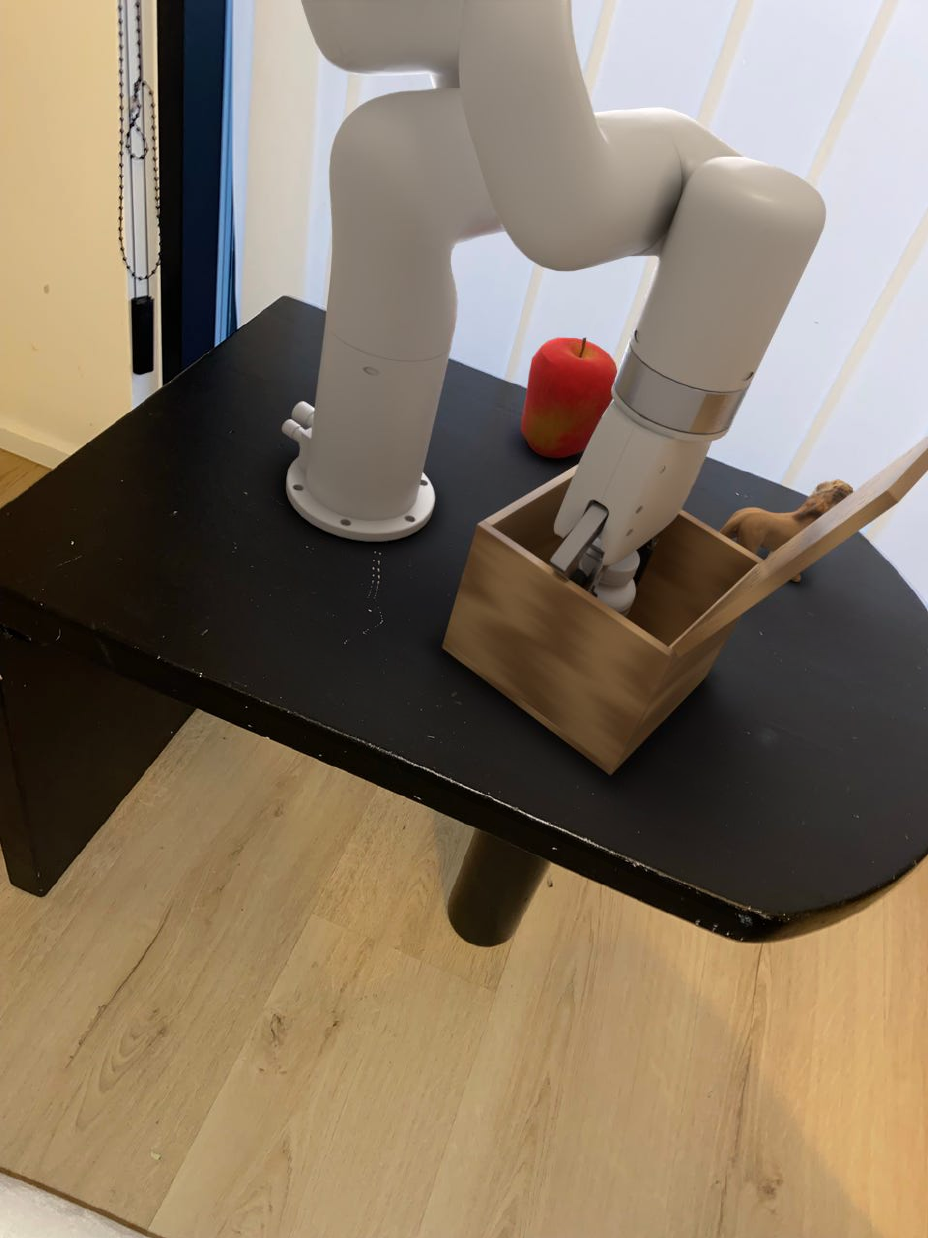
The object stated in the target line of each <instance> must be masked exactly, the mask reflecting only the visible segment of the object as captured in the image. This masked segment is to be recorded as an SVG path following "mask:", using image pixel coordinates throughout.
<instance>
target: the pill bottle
mask: <svg viewBox="0 0 928 1238" xmlns="http://www.w3.org/2000/svg"><path fill="white" fill-rule="evenodd" d="M593 545H595V546H596V547H598V548H599V549H601V539H599V538H596V540H595V541H594V542H593ZM596 562H597V561H596V560H594V559H593V558H591V557H590V556H588V555H587V554H584V555H583V557H582V558H581V560H580V562H579V566H580V567H579V569H581V570H582V571H584V573H585V574H586V576H587V577H588V576H589V574H590V572H591V571H592V569H593V567H594V566H595V564H596ZM639 562H640V558H639V555H638V553H637V551H634V552H633V553H631V554H630V555H629V556H627V557H626V558H625V559H623V560H622V561H620V562H619V563H617V564H613V565H609V567H608V568H607V570H606V572H605V573H604V575H603V577H602V578H601V580H600V581H599V583H598V585H597V586H596V588H595V590H594V592H595V593H596V594H598V596H597V599H599V600H600V601H602V602H603V603H605V604H606V605H608V606H609V607H611V608H612V609H614V610H615V611H616V612H618V613H619V614H621V615H622V616H624V617H625V618H626V616H627V614H628V612H629V610H630V608H631V606H632V603H633V601H634V598H635V594H636V587H635V583H634V580H633V577H634V575H635V573H636V570H637V568H638V566H639Z"/></svg>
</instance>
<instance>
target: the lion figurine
mask: <svg viewBox="0 0 928 1238" xmlns="http://www.w3.org/2000/svg"><path fill="white" fill-rule="evenodd" d="M854 491H855V490H854V487H852V486H851V484H849V483H848V482H845V481H843V480H841V479H839V478H836V479H834V480H833V479H832V480H831V481H827V480H826V481H823V482H820V483H818V484H817V486H816V487H815V488H814V489H813V491H812V492H811V494H810V495H809V496H808V497H807V498H806V500H805V501H804V503H802V504H801V505H800V507H799V508H797V510H795V511H790V512H771V511H768V510H765V509H763V508H759V507H752V506H751V507H744V508H741V509H739V510H737V511H735V512H734V513H733V514H732V515H731V516H730V517H729V519H728V520H727V522H726V523H725V524H724V525H723V526H722V527H721V529H720V530H719V531H718V532H719V533H721V534H722V535H724V536H726V537H727V538H729V539H730V540H732V541H733V540H734V539H736V543H737V544H739V545H740V546H742V547H743V548H745V549H747V550H748V551H750V552H751V553H753V554H755V555H756V554H757V553H758V551H759V549H760V548H762V549H764V550H766V551H769V553H768V555H767V557H768V556H769V555H771V554H772V553H773V552H775V551H776V550H777V549H779V548H780V547H781V546H782V545H784V544H785V543H786V542H788V541H789V540H790V539H792V538H793V537H794V536H796V535H797V534H798V533H800V532H801V531H802V530H804V529H805V528H806V527H808V526H809V525H810V524H812V523H813V522H814V521H816V520H817V519H818V518H820V517H821V516H822V515H824V514H825V513H826V512H827V511H829V510H830V509H831V508H833V507H834V506H835V505H837V504H838V503H839V502H841V501H842V500H843V499H845V498H846V497H847V496H849V495H850V494H851V493H853V492H854ZM801 578H802V577H801V573H799V574H797V575H796V576H794V577H793V578H792V579H790V581H793V582H794V583H798V582H800V581H801Z"/></svg>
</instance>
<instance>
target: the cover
mask: <svg viewBox="0 0 928 1238" xmlns="http://www.w3.org/2000/svg"><path fill="white" fill-rule="evenodd" d="M927 472H928V435H926V436H925V437H924V438H923V439H922V440H920V441H919V442H917V443H916V444H915V445H914V446H912V447H911V448H909V449H908V450H907V451H906V452H904V453H903V454H901V455H900V456H899V457H898V458H896V459H895V460H894V461H892V462H891V463H890V464H888V465H887V466H885V467H884V468H883V469H882V470H880V471H879V472H877V473H876V474H875V475H874V476H873V477H871V478H870V479H869V480H867V481H866V482H865V483H863V484H862V485H860V486H859V487H858V488H857V489H855V490H853V491H854V492H853V493H851V494H850V495H849V496H847V497H846V498H845V499H843V500H842V501H841V502H839V503H838V504H837V505H835V506H834V507H833V508H831V509H830V510H829V511H827V512H826V513H825V514H824V515H822V516H821V517H820V518H818V519H817V520H816V521H814V522H813V523H812V524H810V525H809V526H808V527H806V528H805V529H804V530H802V531H801V532H800V533H798V534H797V535H796V536H794V537H793V538H792V539H790V540H789V541H788V542H786V543H785V544H784V545H782V546H781V547H780V548H779V549H777V550H776V551H775V552H773V553H772V554H771V555H769V554H768V555H769V556H768V555H767V557H766V558H765V559H763V560H764V561H763V562H762V563H761V564H760V565H759V566H758V567H757V568H756V569H755V570H753V571H752V572H751V573H750V574H749V575H748V576H747V577H746V578H745V579H744V580H743V581H742V582H741V583H740V584H739V585H738V586H736V587H735V588H734V589H733V590H732V591H731V592H730V593H729V594H728V595H727V596H726V597H725V598H724V599H723V600H722V601H720V602H719V603H718V604H717V605H716V606H715V607H714V608H713V609H712V610H711V611H710V612H709V613H708V614H707V615H706V616H705V617H703V618H702V619H701V620H700V621H699V622H698V623H697V624H696V625H695V626H694V627H693V628H692V629H691V630H690V631H689V632H687V633H686V634H685V635H684V636H683V637H682V638H681V639H680V640H679V641H678V642H677V643H676V644H675V645H674V646H673V647H672V649H673V650H674V651H675V653H676V654H677V655H678V656H679V657H682V656H683V655H685V654H686V653H688V652H689V651H690V650H692V649H693V648H695V647H696V646H697V645H699V644H700V643H702V642H703V641H705V640H706V639H707V638H709V637H710V636H712V635H713V634H714V633H716V632H717V631H719V630H720V629H721V628H723V627H724V626H726V625H727V624H728V623H730V622H731V621H733V620H734V619H735V618H737V617H738V616H740V615H741V614H742V615H743V614H744V613H746V612H747V611H748V610H750V609H751V608H753V606H755V605H757V604H758V603H760V602H761V601H762V600H764V599H765V598H766V597H768V596H769V595H771V594H772V593H774V592H775V591H776V590H778V589H780V587H783V585H785V584H786V583H787V582H789V581H791V579H792V578H793V577H794V576H796V575H797V574H801V573H802V572H803V571H805V570H807V568H809V567H810V566H811V565H813V564H814V563H815V562H817V561H818V560H820V559H821V558H822V557H824V556H825V555H827V554H828V553H830V552H832V551H833V550H834V549H835V548H837V547H838V546H840V545H841V544H842V543H844V542H845V541H847V540H848V539H850V538H851V537H852V536H854V535H855V534H856V533H858V532H860V531H861V530H862V529H863V528H865V527H866V526H867V525H869V524H870V523H872V522H873V521H875V520H876V519H877V518H879V517H880V516H882V515H883V514H885V513H886V512H887V511H889V510H890V509H891V508H893V507H894V506H895V505H897V504H899V503H900V501H902V499H903V498H904V497H905V496H906V495H907V494H908V493H909V492H910V491H911V489H912V488H913V487H914V486H915V485H916V484H917V483H918V482H920V479H921V478H923V476H924V475H925V474H926V473H927ZM742 615H741V616H742Z"/></svg>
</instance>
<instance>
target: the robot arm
mask: <svg viewBox="0 0 928 1238" xmlns="http://www.w3.org/2000/svg"><path fill="white" fill-rule="evenodd" d="M300 2H301V5H302V8H303V12H304V15H305V18H306V21H307V24H308V26H309V29H310V32H311V34H312V37H313V40H314V41H315V44H316V46H317V47H318V49H319V51H320V53H321V54H322V56H323V57H324V58H325V60H326V61H327V62H328V63H329V64H330V65H332V66H333V67H335V68H337V69H338V70H340V71H342V72H345V73H348V74H352V75H357V76H366V77H367V76H373V77H378V76H379V77H380V76H382V77H383V76H408V75H409V76H411V75H429V77H430V80H431V84H432V87H433V88H421V89H420V88H419V89H409V90H408V89H407V90H400V91H394V92H389V93H388V92H387V93H386V94H383V95H380V96H376V97H373V98H371V99H369V100H367V101H365V102H364V103H362V104H361V105H359V106H357V107H356V108H355V109H354V110H352V111H351V112H350V114H349V115H348V116H347V117H346V118H345V119H344V120H343V121H342V123H341V125H339V127H338V129H337V131H336V133H335V135H334V138H333V140H332V144H331V148H330V153H329V159H328V161H329V162H328V189H329V199H330V200H329V201H330V214H331V215H330V216H331V263H330V275H329V286H328V294H327V302H326V310H325V323H324V329H323V330H324V331H323V339H322V344H321V345H322V346H321V354H320V361H319V369H318V378H317V386H316V394H315V401H314V407H313V406H312V405H310V404H309V403H307V402H306V401H303V400H302V401H299V402H298V403H297V404H295V406H294V408H293V409H292V412H291V419H287V420H285V421H284V423H283V424H282V426H281V432H282V433H283V434H284V435H286V436H287V437H288V438H290V439H291V440H292V441H294V442H295V441H296V442H297V443H298V447H299V453H298V457H296V458H295V459H294V460H293V461H292V462H291V464H290V466H289V468H288V470H287V475H286V480H285V491H286V495H287V498H288V501H289V502H290V504H291V506H292V508H293V509H294V510H295V511H296V512H297V513H298V514H299V515H300V516H301V517H302V518H303V519H305V520H306V521H307V522H308V523H310V524H311V525H313V526H315V527H317V528H318V529H320V530H322V531H324V532H326V533H329V534H332V535H334V536H336V537H340V538H345V539H349V540H352V541H360V542H388V541H395V540H399V539H402V538H406V537H408V536H411V535H413V534H414V533H417V532H419V531H420V530H421V529H422V528H423V527H425V526H426V525H427V523H428V522H429V520H430V519H431V517H432V514H433V511H434V507H435V503H436V494H435V489H434V486H433V483H432V482H431V480H430V479H429V478H428V476H427V475H426V474H425V473H424V469H425V468H424V467H425V464H426V460H427V455H428V451H429V448H430V447H429V446H430V442H431V438H432V434H433V429H434V426H435V421H436V416H437V412H438V408H439V407H438V406H439V403H440V400H441V399H440V398H441V394H442V390H443V385H444V381H445V376H446V373H447V368H448V363H449V358H450V354H451V350H452V346H453V340H454V336H455V331H456V325H457V321H458V313H459V295H458V290H457V284H456V280H455V277H454V273H453V267H452V254H453V250H454V249H455V247H456V246H457V245H458V244H462V243H465V242H470V241H472V240H475V239H478V238H483V237H487V236H492V235H497V234H501V233H504V232H506V234H507V236H508V237H509V239H510V240H511V242H512V244H513V245H514V246H515V247H516V249H517V250H519V252H521V253H522V254H523V255H524V257H526V258H527V259H528V260H530V261H531V262H533V263H535V264H536V265H537V266H539V267H541V268H544V269H548V270H551V271H555V272H576V271H581V270H585V269H590V268H595V267H597V266H601V265H604V264H608V263H611V262H614V261H618V260H621V259H624V258H628V257H657V258H658V259H657V262H656V264H655V267H654V270H653V273H652V276H651V278H650V281H649V284H648V287H647V290H646V292H645V295H644V298H643V301H642V304H641V306H640V308H639V312H638V314H637V318H636V320H635V323H634V325H633V328H632V331H631V334H630V337H629V338H628V342H627V345H626V347H625V350H624V352H623V356H622V358H621V361H620V364H619V367H618V368H617V375H616V378H615V380H614V383H613V386H612V389H611V391H612V397H613V400H612V402H611V403H610V405H609V406H608V408H607V410H606V411H605V413H604V414H603V416H602V417H601V419H600V420H599V423H598V425H597V427H596V429H595V431H594V433H593V435H592V437H591V439H590V441H589V443H588V445H587V447H586V448H585V449H584V450H583V454H582V456H581V458H580V460H579V462H578V464H579V465H578V464H577V465H578V467H577V469H576V472H575V474H574V476H573V478H572V481H571V483H570V486H569V488H568V490H567V493H566V495H565V498H564V500H563V502H562V505H561V507H560V510H559V512H558V515H557V518H556V520H555V523H554V532H555V534H556V535H558V536H561V537H562V538H565V537H566V536H567V535H568V537H567V538H566V539H565V541H564V542H563V543H562V544H561V546H560V547H559V548H558V550H557V551H556V552H555V554H554V555H553V556H552V558H551V560H550V563H549V564H550V566H551V568H552V570H553V571H554V572H555V573H556V574H558V575H559V576H561V577H562V578H563V579H565V580H566V581H569V580H571V581H573V582H574V583H575V584H577V585H578V586H580V587H581V588H583V589H584V590H586V591H587V592H589V593H590V594H592V595H593V596H594V597H596V598H597V596H598V594H596V593H595V592H594V590H595V588H596V586H597V585H598V583H599V581H600V580H601V578H602V577H603V575H604V573H605V572H606V570H607V568H608V567H609V565H613V564H617V563H619V562H620V561H622V560H623V559H625V558H626V557H627V556H629V555H630V554H631V553H633V552H634V551H637V553H638V555H639V558H640V562H639V566H638V568H637V570H636V573H635V575H634V577H633V580H634V583H635V587H636V588H637V586H638V584H639V582H640V580H641V578H642V575H643V573H644V571H645V569H646V567H647V565H648V562H649V560H650V558H651V556H652V554H653V551H652V550H651V549H649V548H647V545H648V546H649V547H651V548H653V547H654V546H655V545H656V544H657V543H658V541H659V540H660V538H661V534H662V530H663V529H664V528H665V527H667V526H668V525H669V524H670V523H671V522H672V521H673V520H674V519H675V517H676V516H677V515H678V514H679V512H680V510H681V509H682V510H683V507H684V505H685V503H686V502H687V500H688V497H689V495H690V493H691V492H692V490H693V488H694V485H695V484H696V480H697V478H698V477H699V474H700V472H701V469H702V467H703V465H704V462H705V461H706V457H707V455H708V452H709V451H710V447H711V445H712V442H715V441H717V440H720V439H722V438H723V437H725V436H726V435H727V434H728V433H729V431H730V429H731V427H732V425H733V422H734V421H735V419H736V416H737V414H738V412H739V410H740V409H741V405H742V403H743V401H744V400H745V397H746V395H747V393H748V391H749V389H750V387H751V384H752V381H753V380H754V377H755V375H756V373H757V371H758V369H759V367H760V365H761V363H762V360H763V359H764V356H765V355H766V352H767V350H768V348H769V346H770V344H771V342H772V340H773V338H774V336H775V334H776V331H777V329H778V328H779V325H780V323H781V321H782V320H783V319H782V318H783V317H784V315H785V313H786V311H787V308H788V306H789V304H790V302H791V300H792V298H793V295H794V293H795V291H796V290H797V287H798V285H799V283H800V281H801V279H802V276H803V275H804V273H805V271H806V268H807V267H808V264H809V262H810V260H811V258H812V256H813V254H814V252H815V249H816V247H817V245H818V243H819V242H820V241H819V240H820V238H821V236H822V233H823V231H824V228H825V226H826V225H825V224H826V220H827V209H826V204H825V201H824V199H823V196H822V195H821V193H820V192H819V191H818V190H817V189H816V188H815V187H814V186H812V184H810V183H809V182H807V181H806V180H805V179H803V178H802V177H800V176H799V175H796V174H794V173H792V172H790V171H788V170H786V169H784V168H781V167H778V166H776V165H774V164H770V163H767V162H764V161H760V160H757V159H752V158H749V157H747V156H746V155H744V154H742V153H741V152H739V151H738V150H737V149H736V148H734V147H733V146H731V144H730V145H729V144H728V143H727V142H725V141H724V140H723V139H722V138H720V137H718V136H717V134H715V133H713V132H712V131H711V130H709V129H708V128H707V127H706V126H704V125H703V124H701V123H700V122H699V121H697V120H696V119H694V118H692V117H691V116H690V115H687V114H686V113H682V112H680V111H677V110H675V109H671V108H668V107H667V108H665V107H643V108H634V109H613V110H607V111H605V110H604V111H595V112H594V108H593V103H592V100H591V97H590V94H589V90H588V87H587V83H586V80H585V76H584V72H583V68H582V64H581V61H580V57H579V52H578V47H577V41H576V37H575V29H574V20H573V0H300ZM596 538H599V539H601V549H599V548H598V547H596V546H595V545H593V542H594V541H595V540H596ZM584 554H587V555H588V556H590V557H591V558H593V559H594V560H596V561H597V562H596V564H595V566H594V567H593V569H592V571H591V572H590V574H589V576H588V577H587V576H586V574H585V573H584V571H582V570H581V569H579V567H580V566H579V562H580V560H581V558H582V557H583V555H584Z"/></svg>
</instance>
